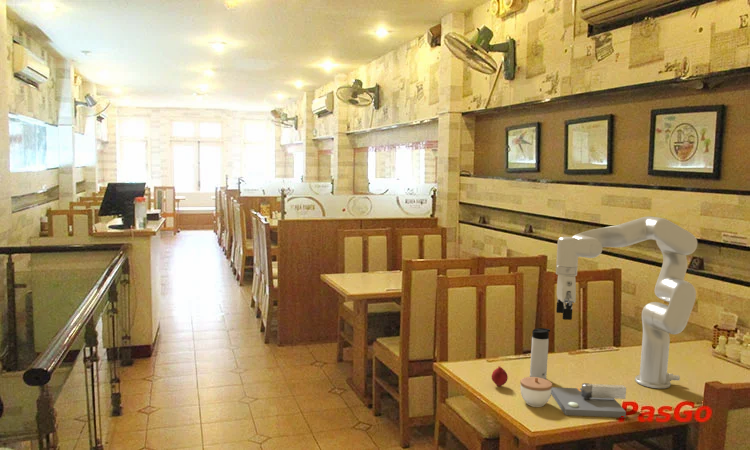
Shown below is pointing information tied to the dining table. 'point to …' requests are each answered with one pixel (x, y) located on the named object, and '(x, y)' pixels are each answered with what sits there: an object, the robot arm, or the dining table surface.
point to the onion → (499, 376)
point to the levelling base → (585, 404)
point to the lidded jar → (536, 391)
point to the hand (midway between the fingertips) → (563, 316)
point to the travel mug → (539, 353)
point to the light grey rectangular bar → (603, 391)
